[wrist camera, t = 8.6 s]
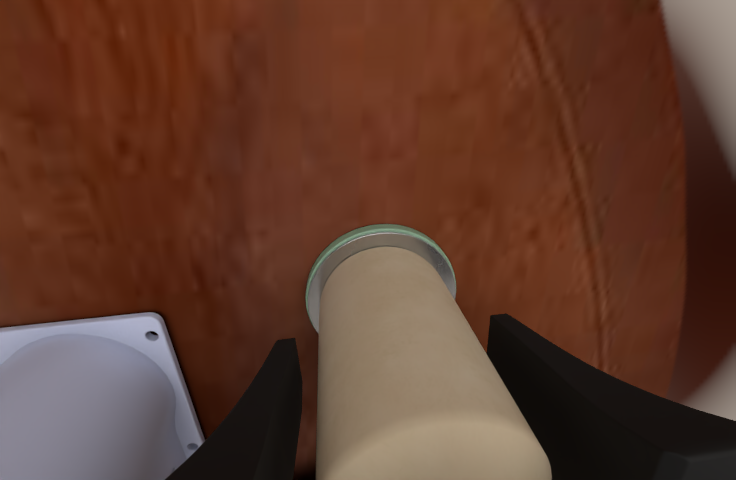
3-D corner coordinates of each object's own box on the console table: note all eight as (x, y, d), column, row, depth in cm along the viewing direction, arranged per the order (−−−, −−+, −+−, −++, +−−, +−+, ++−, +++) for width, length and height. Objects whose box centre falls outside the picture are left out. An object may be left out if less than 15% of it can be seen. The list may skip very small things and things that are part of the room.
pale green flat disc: (449, 342, 19) (455, 353, 18) (315, 358, 18) (314, 370, 17) (455, 216, 16) (461, 222, 15) (296, 231, 15) (295, 238, 15)
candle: (339, 230, 15) (364, 481, 5) (462, 261, 16) (652, 509, 7) (305, 339, 16) (282, 659, 7) (417, 359, 18) (516, 656, 9)
